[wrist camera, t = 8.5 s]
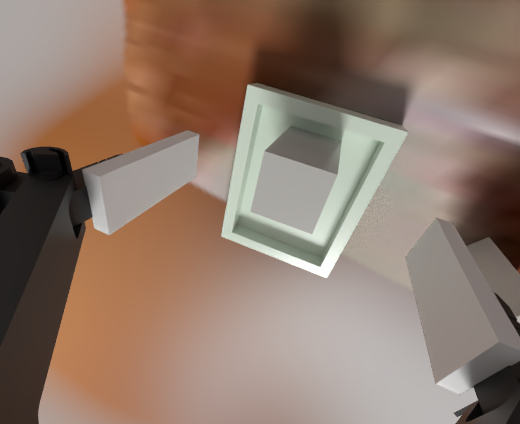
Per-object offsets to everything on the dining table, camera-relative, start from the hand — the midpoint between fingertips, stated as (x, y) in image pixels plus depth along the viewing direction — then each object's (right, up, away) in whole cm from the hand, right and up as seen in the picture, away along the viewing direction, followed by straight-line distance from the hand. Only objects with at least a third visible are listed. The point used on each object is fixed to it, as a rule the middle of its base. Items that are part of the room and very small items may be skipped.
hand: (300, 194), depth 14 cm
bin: (+1, +1, +8) cm, 9 cm away
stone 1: (+2, +3, +6) cm, 7 cm away
